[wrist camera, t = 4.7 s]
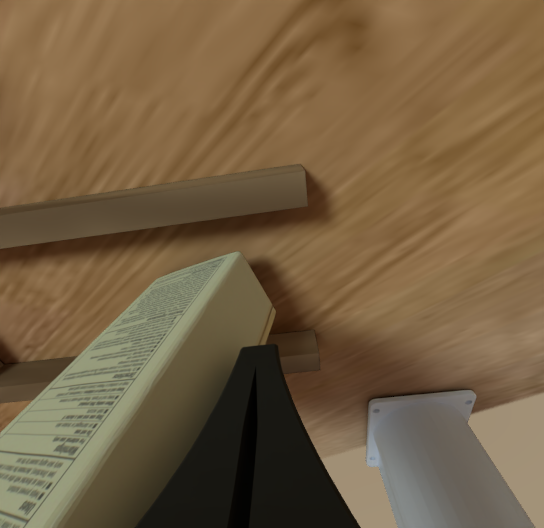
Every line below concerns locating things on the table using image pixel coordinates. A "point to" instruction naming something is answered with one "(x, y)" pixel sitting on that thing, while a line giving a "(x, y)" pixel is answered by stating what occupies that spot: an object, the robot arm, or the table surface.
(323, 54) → the table surface
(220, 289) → the skincare box
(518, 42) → the table surface
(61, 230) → the cradle
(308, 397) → the table surface
